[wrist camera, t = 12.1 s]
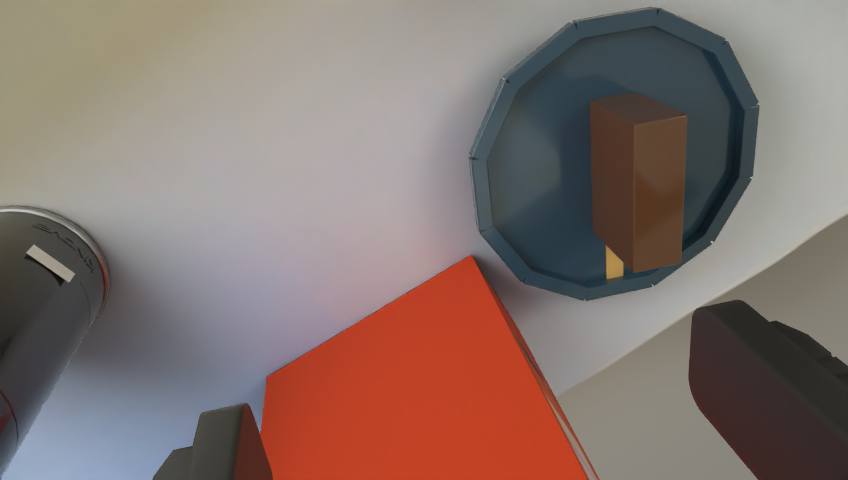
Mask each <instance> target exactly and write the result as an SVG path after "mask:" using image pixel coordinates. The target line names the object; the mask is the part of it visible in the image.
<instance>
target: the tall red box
mask: <svg viewBox="0 0 848 480" xmlns="http://www.w3.org/2000/svg"><path fill="white" fill-rule="evenodd" d="M260 437H261V440H262V443H263V446H264V449H265V452H266V455H267V458H268V461H269V464H270V467H271V471H272V475H273V480H599V478H598V476H597V474H596V472H595V470H594V469H593V467H592V465H591V463H590V461H589V459H588V457H587V456H586V454H585V452H584V450H583V448H582V446H581V444H580V443H579V441H578V439H577V437H576V435H575V433H574V431H573V429H572V428H571V426H570V424H569V422H568V420H567V418H566V416H565V415H564V413H563V411H562V409H561V407H560V405H559V403H558V402H557V400H556V398H555V396H554V394H553V392H552V390H551V389H550V387H549V385H548V383H547V381H546V379H545V377H544V376H543V374H542V372H541V370H540V368H539V366H538V364H537V363H536V361H535V359H534V357H533V355H532V353H531V351H530V349H529V348H528V346H527V344H526V342H525V340H524V338H523V336H522V335H521V333H520V331H519V329H518V328H517V326H516V324H515V323H514V321H513V320H512V318H511V316H510V315H509V313H508V312H507V310H506V308H505V307H504V305H503V304H502V302H501V301H500V299H499V297H498V296H497V294H496V293H495V291H494V289H493V288H492V286H491V285H490V283H489V282H488V280H487V278H486V277H485V275H484V274H483V272H482V270H481V269H480V267H479V266H478V264H477V262H476V261H475V259H474V258H473V256H472V255H470V256H468V257H467V258H465V259H463V260H462V261H460V262H458V263H457V264H455V265H453V266H452V267H450V268H448V269H446V270H445V271H443V272H441V273H440V274H438V275H436V276H435V277H433V278H431V279H430V280H428V281H426V282H425V283H423V284H421V285H420V286H418V287H416V288H415V289H413V290H411V291H410V292H408V293H406V294H405V295H403V296H401V297H400V298H398V299H396V300H395V301H393V302H391V303H390V304H388V305H386V306H385V307H383V308H381V309H380V310H378V311H376V312H375V313H373V314H371V315H370V316H368V317H366V318H365V319H363V320H361V321H360V322H358V323H356V324H355V325H353V326H351V327H350V328H348V329H346V330H345V331H343V332H341V333H340V334H338V335H336V336H335V337H333V338H331V339H330V340H328V341H326V342H325V343H323V344H321V345H320V346H318V347H316V348H315V349H313V350H311V351H310V352H308V353H306V354H305V355H303V356H301V357H300V358H298V359H296V360H295V361H293V362H291V363H290V364H288V365H286V366H285V367H283V368H281V369H280V370H278V371H276V372H275V373H273V374H271V375H270V376H268V377H267V381H266V390H265V398H264V407H263V415H262V424H261V432H260Z"/></svg>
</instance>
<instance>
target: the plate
mask: <svg viewBox="0 0 848 480" xmlns="http://www.w3.org/2000/svg"><path fill="white" fill-rule="evenodd" d="M503 77H504V79H505V80H506V81H505V80H503V79H501V80H500V82H499V85H498V87H497V89H496V92H495V94H494V96H493V99H492V101H491V103H490V106H489V108H488V110H487V113H486V115H485V117H484V120H483V122H482V124H481V127H480V129H479V131H478V134H477V136H476V138H475V141H474V143H473V145H472V148H471V150H470V152H469V154H470V155H471V156H470V157H469V165H470V174H471V182H472V191H473V199H474V208H475V217H476V225H477V227H478V231H479V232H480V234H481V235H482V236H483V238H484V239H485V240H486V241H487V242H488V243H489V245H490V246H491V247H492V248H493V249H494V251H495V252H496V253H497V254H498V255H499V256H500V258H501V259H502V260H503V261H504V262H505V263H506V265H507V266H508V267H509V268H510V269H511V271H512V272H513V273H514V274H515V275H516V276H517V278H518V279H519V280H520V281H521V282H522V281H523V283H525V284H528V285H531V286H535V287H538V288H542V289H545V290H549V291H552V292H555V293H559V294H562V295H566V296H569V297H573V298H576V299H579V300H584V299H585V300H586V301H588V300H593V299H598V298H602V297H607V296H612V295H616V294H621V293H626V292H631V291H635V290H640V289H645V288H649V287H652V284H653V285H654V286H655V285H656V284H658V283H659V282H660V281H662V280H663V279H665V278H666V277H667V276H669V275H670V274H671V273H673V272H674V271H676V270H677V269H678V268H680V267H681V266H682V265H684V264H685V263H687V262H688V261H689V260H691V259H692V258H693V257H695V256H696V255H698V254H699V253H700V252H702V251H703V250H704V249H706V248H707V247H709V246H710V245H711V244H712V243H711V241H713V242H714V241H715V239H716V238H717V236H718V234H719V233H720V231H721V230H722V228H723V226H724V225H725V223H726V221H727V220H728V218H729V216H730V215H731V213H732V211H733V210H734V208H735V206H736V205H737V203H738V201H739V200H740V198H741V196H742V195H743V193H744V191H745V190H746V188H747V186H748V185H749V183H750V182H751V180H752V179H751V178H749V177H752V176H753V168H754V158H755V147H756V137H757V126H758V116H759V105H757V103H758V100H757V98H756V96H755V94H754V92H753V90H752V88H751V86H750V84H749V82H748V80H747V78H746V76H745V74H744V72H743V70H742V68H741V66H740V64H739V63H738V61H737V59H736V57H735V55H734V53H733V51H732V49H731V47H730V45H729V43H728V42H727V41H725V38H723V37H721V36H719V35H717V34H714V33H712V32H710V31H708V30H706V29H704V28H702V27H700V26H697V25H695V24H693V23H691V22H689V21H687V20H685V19H683V18H681V17H678V16H676V15H674V14H672V13H670V12H668V11H666V10H664V9H661V8H656V7H655V8H654V7H647V8H641V9H635V10H630V11H624V12H618V13H612V14H607V15H601V16H595V17H589V18H584V19H578V20H574V21H573V23H570V22H569V23H567V24H566V25H565V26H564V27H563V28H561V29H560V30H559V31H558V32H557V33H555V34H554V35H553V36H552V37H550V38H549V39H548V40H547V41H546V42H544V43H543V44H542V45H541V46H539V47H538V48H537V49H536V50H535V51H533V52H532V53H531V54H530V55H528V56H527V57H526V58H525V59H524V60H522V61H521V62H520V63H519V64H517V65H516V66H515V67H514V68H513V69H511V70H510V71H509V72H508V73H507V74H505V75H504V76H503Z"/></svg>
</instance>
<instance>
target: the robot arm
mask: <svg viewBox="0 0 848 480" xmlns="http://www.w3.org/2000/svg"><path fill="white" fill-rule="evenodd" d="M109 291H110V274H109V269H108V266H107V263H106V260H105V258H104V256H103V254H102V252H101V251H100V249H99V247H98V246H97V245H96V243H95V242H94V241H93V240H92V239H91V238H90V237H89V236H88V235H87V234H86V233H85V232H84V231H83V230H82V229H80V228H79V227H78V226H76V225H75V224H73V223H72V222H70V221H69V220H67V219H65V218H63V217H61V216H59V215H56V214H54V213H51V212H49V211H46V210H42V209H38V208H33V207H26V206H3V207H0V480H1V478H2V477H3V475H4V473H5V472H6V470H7V468H8V466H9V464H10V463H11V461H12V459H13V457H14V456H15V454H16V452H17V450H18V449H19V447H20V445H21V444H22V442H23V440H24V439H25V437H26V435H27V433H28V432H29V430H30V428H31V427H32V425H33V423H34V421H35V420H36V418H37V416H38V415H39V413H40V411H41V410H42V408H43V406H44V404H45V403H46V401H47V399H48V398H49V396H50V394H51V392H52V391H53V389H54V387H55V386H56V384H57V382H58V380H59V379H60V377H61V375H62V374H63V372H64V370H65V369H66V367H67V365H68V363H69V362H70V360H71V358H72V357H73V355H74V353H75V351H76V350H77V348H78V346H79V345H80V343H81V341H82V340H83V338H84V337H85V335H86V333H87V331H88V330H89V328H90V326H91V325H92V323H93V322H94V320H95V319H96V318H97V317H98V315H99V314H100V312H101V311H102V309H103V307H104V305H105V303H106V301H107V298H108V295H109ZM691 327H692V328H691V343H690V359H689V385H690V389H691V392H692V396H693V398H694V400H695V402H696V404H697V406H698V407H699V409H700V411H701V412H702V413H703V414H704V416H705V417H706V418H707V419H708V420H709V421H710V423H711V424H712V425H713V426H714V427H715V429H716V430H717V431H718V432H719V433H720V434H721V436H722V437H723V438H724V439H725V441H726V442H727V443H728V444H729V445H730V446H731V448H732V449H733V450H734V451H735V453H736V454H737V455H738V456H739V457H740V459H741V460H742V461H743V462H744V463H745V464H746V466H747V467H748V468H749V469H750V470H751V472H752V473H753V474H754V475H755V476H756V478H757V479H758V480H848V366H847V365H846V364H844V363H843V362H842V361H841V360H839V359H838V358H837V357H832V356H831V353H830V352H829V351H828V350H827V349H825V348H824V347H823V346H822V345H820V344H819V343H818V342H816V341H815V340H814V339H812V338H811V337H810V336H809V335H807V334H805V333H803V332H801V331H798V330H796V329H794V328H791V327H789V326H787V325H785V324H782V323H780V322H778V321H772V322H768V321H767V320H766V319H765V318H764V317H763V316H761V315H760V314H759V313H758V312H756V311H755V310H754V309H753V308H752V307H750V306H749V305H748V304H746V303H745V302H744V301H741V300H733V301H729V302H724V303H720V304H715V305H711V306H705V307H700V308H697V309H696V310H695V311H694V313H693V316H692V326H691ZM153 480H273V475H272V471H271V467H270V464H269V461H268V458H267V455H266V452H265V449H264V446H263V443H262V440H261V437H260V434H259V431H258V428H257V425H256V422H255V419H254V416H253V413H252V410H251V408H250V406H249V405H248V404H247V403H244V404H239V405H235V406H230V407H225V408H221V409H216V410H211V411H206V412H203V413H202V414H201V415H200V417H199V421H198V425H197V429H196V433H195V438H194V442H193V446H190V447H186V448H181V449H176V450H173V451H172V453H171V454H170V455H169V457H168V458H167V459H166V461H165V462H164V463H163V465H162V466H161V467H160V469H159V470H158V471H157V473H156V474H155V475H154V477H153Z"/></svg>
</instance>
